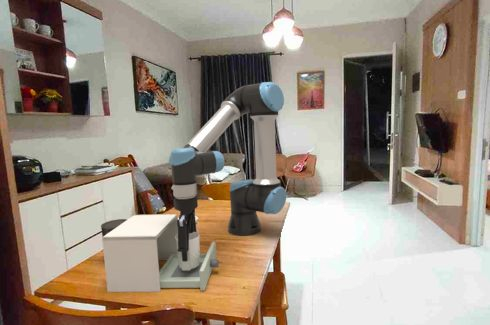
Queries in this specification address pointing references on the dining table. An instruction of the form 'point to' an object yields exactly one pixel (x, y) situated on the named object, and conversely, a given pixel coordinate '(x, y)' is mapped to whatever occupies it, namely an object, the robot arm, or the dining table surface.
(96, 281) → the dining table surface
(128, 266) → the box
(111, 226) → the coffee can
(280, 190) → the robot arm
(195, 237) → the white cup
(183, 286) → the tray
